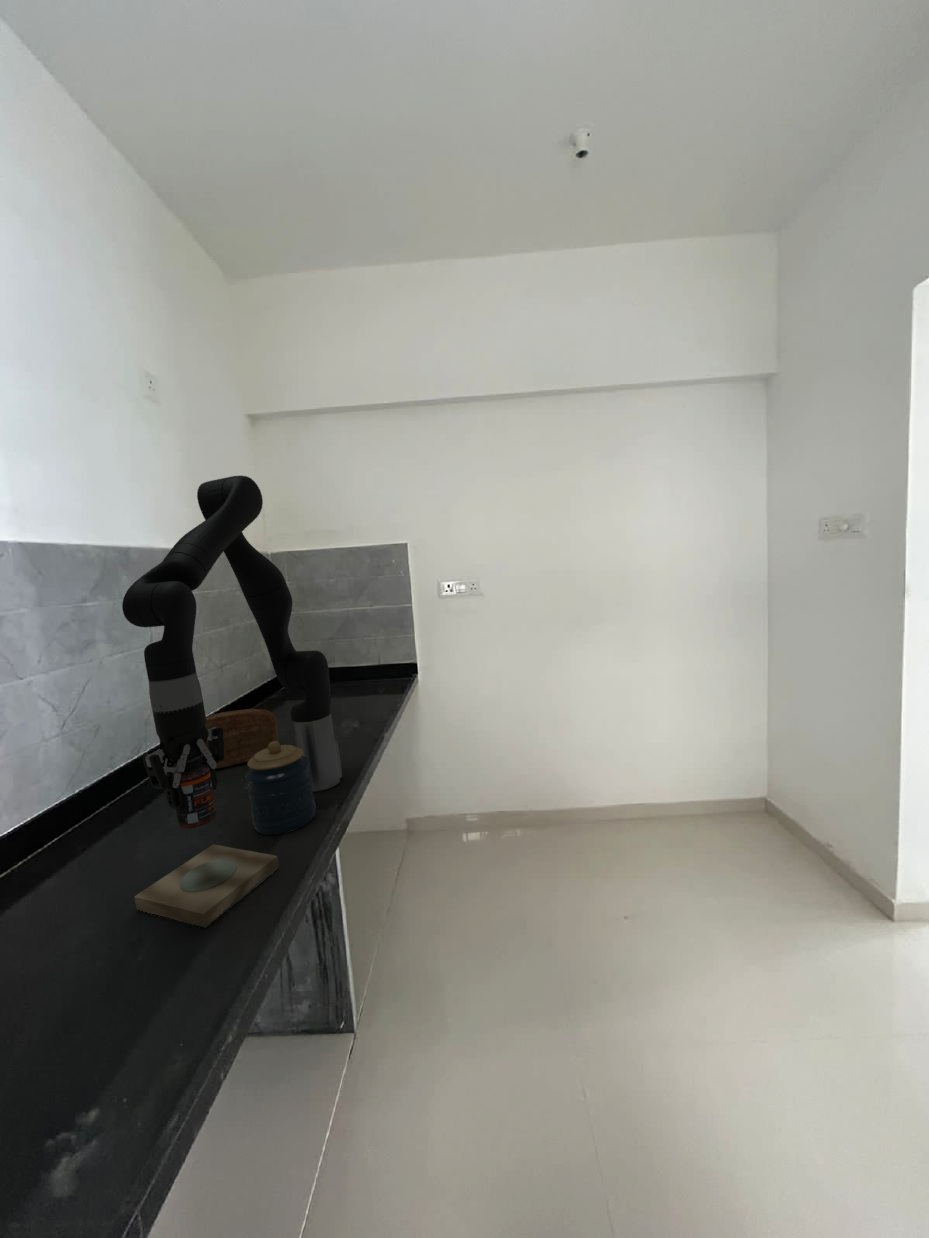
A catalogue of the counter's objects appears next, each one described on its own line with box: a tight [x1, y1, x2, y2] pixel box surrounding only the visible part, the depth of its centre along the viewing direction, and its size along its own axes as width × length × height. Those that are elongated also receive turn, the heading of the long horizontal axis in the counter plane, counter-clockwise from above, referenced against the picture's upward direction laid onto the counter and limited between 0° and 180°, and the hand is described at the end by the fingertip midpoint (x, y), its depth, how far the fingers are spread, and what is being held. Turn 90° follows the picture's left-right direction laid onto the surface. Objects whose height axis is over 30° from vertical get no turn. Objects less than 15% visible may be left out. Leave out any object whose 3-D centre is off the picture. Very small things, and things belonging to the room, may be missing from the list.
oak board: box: [134, 844, 280, 927], centre depth 94 cm, size 16×16×3 cm
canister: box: [244, 741, 317, 836], centre depth 115 cm, size 13×13×18 cm
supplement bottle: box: [174, 755, 218, 829], centre depth 92 cm, size 6×6×11 cm
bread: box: [205, 708, 279, 770], centre depth 154 cm, size 12×28×14 cm, turn 111°
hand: (194, 798), depth 92 cm, fingers closed on supplement bottle, 6 cm apart
